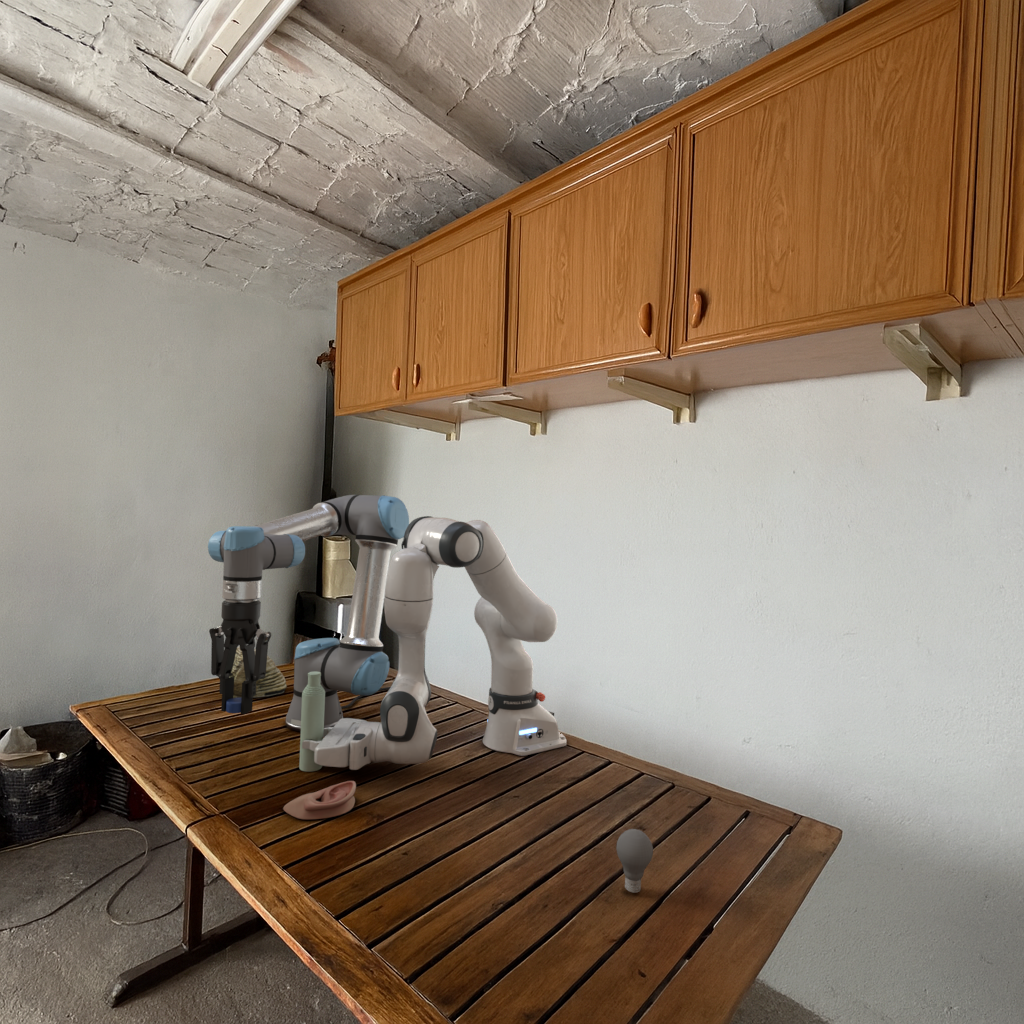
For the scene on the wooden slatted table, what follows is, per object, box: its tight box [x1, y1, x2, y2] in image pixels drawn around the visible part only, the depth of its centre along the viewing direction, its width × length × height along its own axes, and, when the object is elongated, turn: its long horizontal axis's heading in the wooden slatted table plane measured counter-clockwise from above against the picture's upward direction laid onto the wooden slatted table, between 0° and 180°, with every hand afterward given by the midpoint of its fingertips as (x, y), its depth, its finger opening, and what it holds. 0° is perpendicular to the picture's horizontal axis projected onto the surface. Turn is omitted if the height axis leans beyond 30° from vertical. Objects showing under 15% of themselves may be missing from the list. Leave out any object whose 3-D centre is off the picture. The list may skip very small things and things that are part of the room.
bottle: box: [298, 671, 325, 773], centre depth 148 cm, size 5×5×22 cm
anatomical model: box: [282, 780, 357, 820], centre depth 129 cm, size 13×4×12 cm
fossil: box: [229, 646, 288, 698], centre depth 198 cm, size 9×18×15 cm, turn 132°
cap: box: [225, 698, 241, 714], centre depth 133 cm, size 4×4×2 cm
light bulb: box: [615, 828, 654, 894], centre depth 106 cm, size 6×6×10 cm
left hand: (236, 710), depth 133 cm, fingers closed on cap, 4 cm apart
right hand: (308, 738), depth 148 cm, fingers closed on bottle, 5 cm apart
